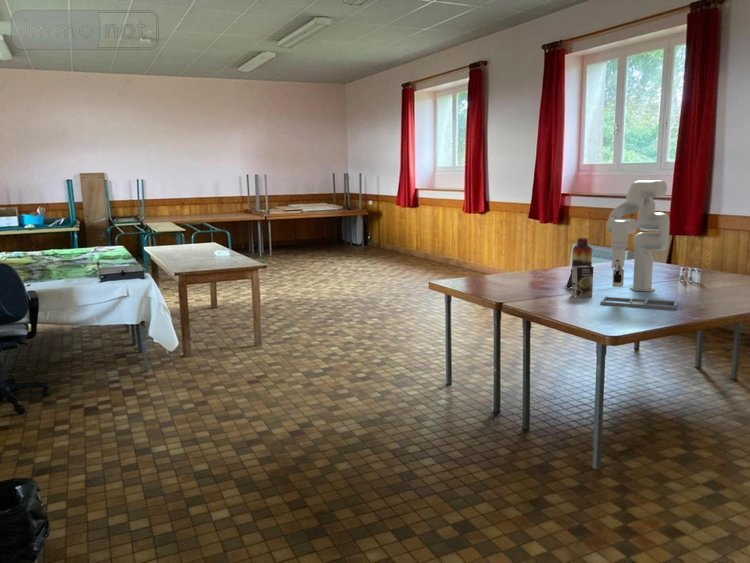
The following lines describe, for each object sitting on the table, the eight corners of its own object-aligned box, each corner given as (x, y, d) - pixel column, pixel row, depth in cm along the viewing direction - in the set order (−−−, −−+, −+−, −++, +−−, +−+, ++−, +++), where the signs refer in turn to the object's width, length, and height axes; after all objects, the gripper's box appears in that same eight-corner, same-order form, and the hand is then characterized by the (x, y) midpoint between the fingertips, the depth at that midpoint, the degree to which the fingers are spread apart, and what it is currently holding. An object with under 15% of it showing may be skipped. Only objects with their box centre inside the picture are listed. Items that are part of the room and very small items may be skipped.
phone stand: (565, 288, 348) (566, 267, 346) (570, 287, 352) (571, 266, 350) (580, 290, 342) (580, 269, 340) (585, 288, 346) (586, 267, 344)
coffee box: (577, 297, 322) (577, 267, 320) (570, 295, 329) (571, 265, 326) (592, 296, 324) (593, 266, 321) (586, 294, 330) (587, 264, 327)
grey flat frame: (604, 299, 316) (604, 294, 316) (676, 304, 300) (677, 299, 300) (600, 304, 304) (600, 299, 304) (675, 310, 288) (675, 305, 288)
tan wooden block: (613, 284, 309) (614, 269, 307) (623, 285, 307) (623, 269, 305) (612, 286, 305) (613, 270, 303) (622, 287, 303) (622, 271, 301)
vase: (591, 283, 361) (592, 239, 357) (571, 282, 365) (572, 239, 360) (590, 280, 372) (592, 237, 367) (571, 279, 375) (572, 237, 370)
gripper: (613, 242, 311) (612, 278, 315) (608, 247, 297) (607, 284, 300) (629, 243, 308) (628, 278, 311) (625, 247, 293) (624, 285, 296)
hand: (618, 281), depth 305 cm, fingers closed on tan wooden block, 4 cm apart
